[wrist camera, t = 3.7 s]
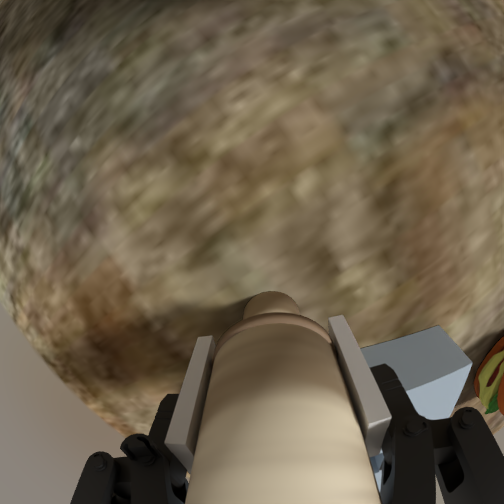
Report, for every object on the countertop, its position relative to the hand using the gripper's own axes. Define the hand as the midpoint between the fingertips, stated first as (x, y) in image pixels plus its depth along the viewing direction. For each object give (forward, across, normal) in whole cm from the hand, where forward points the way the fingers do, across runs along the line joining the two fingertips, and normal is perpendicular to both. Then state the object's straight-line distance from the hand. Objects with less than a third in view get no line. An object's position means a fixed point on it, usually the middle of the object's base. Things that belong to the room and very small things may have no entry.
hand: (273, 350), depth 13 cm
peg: (+3, 0, 0) cm, 3 cm away
